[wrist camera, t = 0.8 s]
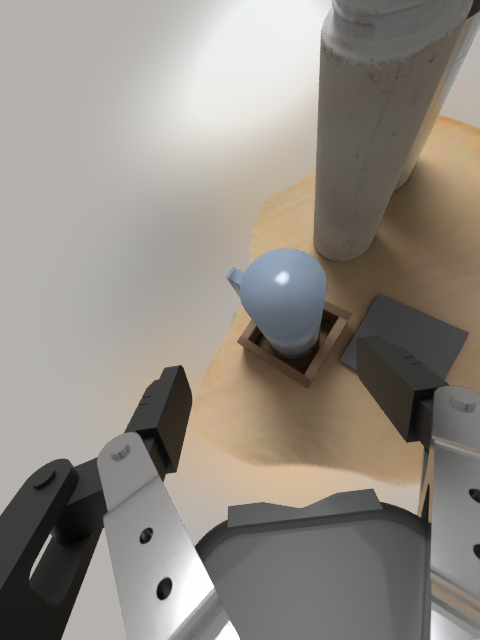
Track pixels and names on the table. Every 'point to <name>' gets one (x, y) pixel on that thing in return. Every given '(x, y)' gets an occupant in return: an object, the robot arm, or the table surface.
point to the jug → (284, 299)
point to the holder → (340, 320)
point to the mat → (409, 335)
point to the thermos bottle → (373, 108)
